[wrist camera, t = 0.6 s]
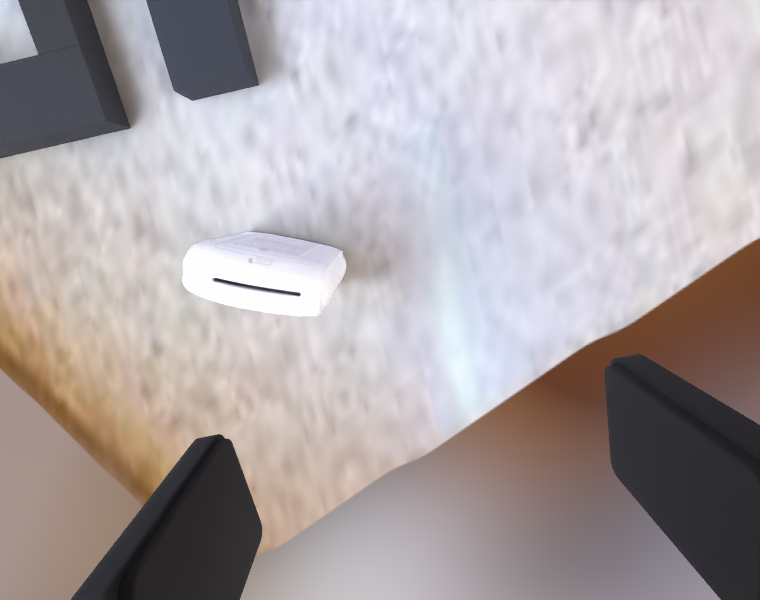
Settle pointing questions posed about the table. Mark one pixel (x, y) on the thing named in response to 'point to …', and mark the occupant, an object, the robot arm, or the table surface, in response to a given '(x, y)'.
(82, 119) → the base pad
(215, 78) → the pad
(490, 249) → the table surface
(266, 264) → the photo printer
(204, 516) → the robot arm
